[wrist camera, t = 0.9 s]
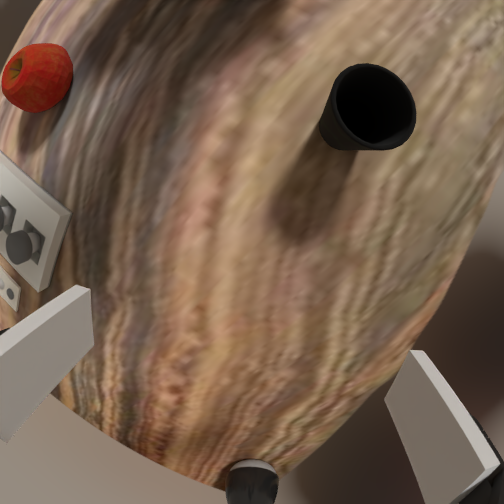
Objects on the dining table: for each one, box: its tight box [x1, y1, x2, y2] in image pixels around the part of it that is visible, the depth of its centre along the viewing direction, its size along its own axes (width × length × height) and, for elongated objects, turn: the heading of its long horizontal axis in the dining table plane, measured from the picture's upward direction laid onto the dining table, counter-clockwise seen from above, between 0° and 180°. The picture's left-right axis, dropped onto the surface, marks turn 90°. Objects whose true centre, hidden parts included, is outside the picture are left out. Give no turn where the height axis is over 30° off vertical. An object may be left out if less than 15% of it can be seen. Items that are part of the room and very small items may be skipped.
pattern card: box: [0, 265, 21, 312], centre depth 39 cm, size 6×11×1 cm, turn 57°
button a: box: [6, 230, 41, 265], centre depth 32 cm, size 5×5×5 cm
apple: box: [2, 43, 73, 113], centre depth 25 cm, size 11×11×11 cm
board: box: [0, 150, 73, 292], centre depth 35 cm, size 14×24×3 cm, turn 57°
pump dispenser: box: [225, 459, 279, 504], centre depth 39 cm, size 10×10×15 cm
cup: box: [319, 63, 416, 150], centre depth 25 cm, size 8×8×12 cm
